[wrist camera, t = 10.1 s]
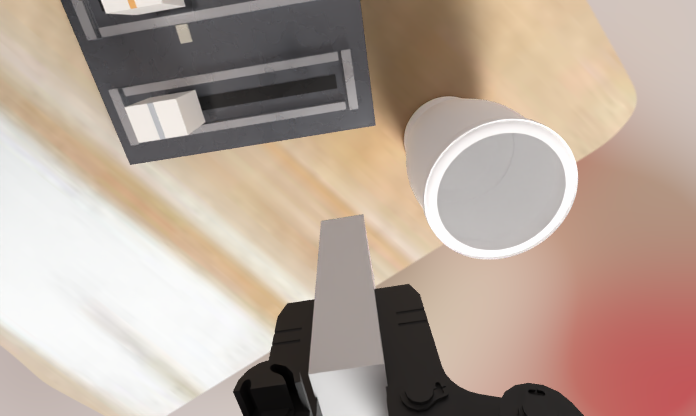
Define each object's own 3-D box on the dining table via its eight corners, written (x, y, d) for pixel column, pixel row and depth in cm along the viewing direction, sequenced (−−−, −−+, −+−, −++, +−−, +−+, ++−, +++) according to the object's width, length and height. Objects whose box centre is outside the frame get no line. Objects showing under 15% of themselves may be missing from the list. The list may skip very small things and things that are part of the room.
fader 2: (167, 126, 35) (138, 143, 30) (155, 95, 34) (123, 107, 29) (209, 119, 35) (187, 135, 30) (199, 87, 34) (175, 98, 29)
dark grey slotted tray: (142, 156, 39) (125, 168, 36) (58, -50, 32) (27, -59, 28) (373, 119, 38) (376, 127, 35) (345, -103, 31) (346, -118, 27)
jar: (516, 126, 39) (612, 179, 26) (448, 201, 42) (501, 283, 29) (439, 61, 36) (500, 83, 23) (372, 148, 40) (392, 211, 26)
